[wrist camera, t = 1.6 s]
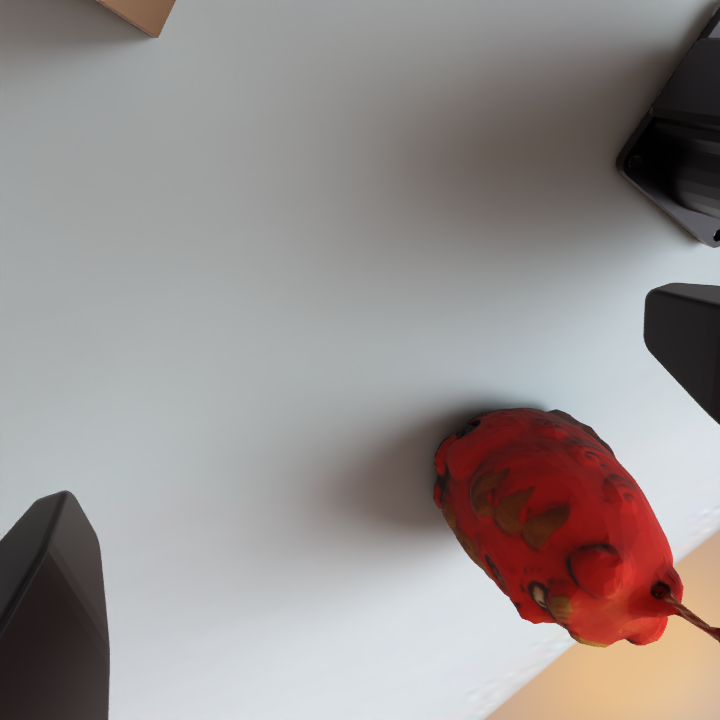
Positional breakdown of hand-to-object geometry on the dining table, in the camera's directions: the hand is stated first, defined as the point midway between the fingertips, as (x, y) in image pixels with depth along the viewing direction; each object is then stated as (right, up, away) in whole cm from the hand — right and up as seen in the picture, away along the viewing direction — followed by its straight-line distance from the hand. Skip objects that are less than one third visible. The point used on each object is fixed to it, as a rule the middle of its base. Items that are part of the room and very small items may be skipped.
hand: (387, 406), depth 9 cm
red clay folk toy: (+6, -3, +18) cm, 19 cm away
